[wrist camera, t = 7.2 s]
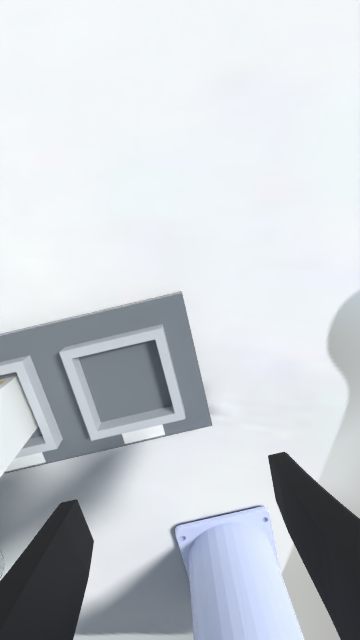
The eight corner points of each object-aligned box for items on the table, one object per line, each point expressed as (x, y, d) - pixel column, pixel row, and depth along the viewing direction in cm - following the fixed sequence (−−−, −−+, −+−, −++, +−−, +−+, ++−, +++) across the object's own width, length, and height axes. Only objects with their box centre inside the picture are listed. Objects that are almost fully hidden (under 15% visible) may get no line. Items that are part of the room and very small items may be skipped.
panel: (210, 419, 20) (214, 434, 19) (-31, 474, 21) (-50, 495, 19) (181, 291, 18) (182, 295, 16) (-93, 355, 18) (-120, 366, 16)
